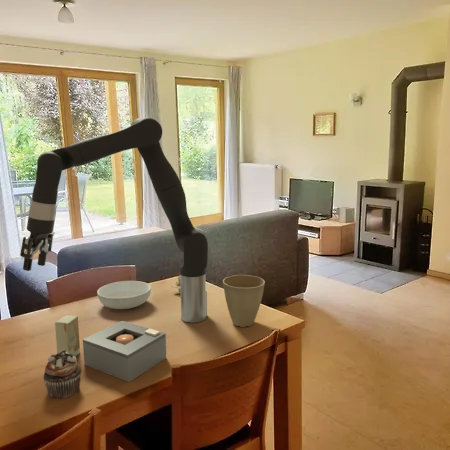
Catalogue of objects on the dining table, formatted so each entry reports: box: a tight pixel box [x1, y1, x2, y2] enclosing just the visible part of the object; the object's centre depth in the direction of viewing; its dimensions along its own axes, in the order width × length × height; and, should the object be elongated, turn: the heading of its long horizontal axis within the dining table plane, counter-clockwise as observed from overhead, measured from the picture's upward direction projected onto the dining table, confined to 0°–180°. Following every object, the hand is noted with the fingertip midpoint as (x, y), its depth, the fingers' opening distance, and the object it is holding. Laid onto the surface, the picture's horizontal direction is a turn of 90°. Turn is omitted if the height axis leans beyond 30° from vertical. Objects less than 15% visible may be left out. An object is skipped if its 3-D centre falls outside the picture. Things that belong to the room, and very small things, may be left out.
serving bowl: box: [96, 280, 152, 310], centre depth 178 cm, size 21×21×7 cm
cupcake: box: [42, 350, 83, 399], centre depth 118 cm, size 10×10×10 cm
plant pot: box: [222, 274, 266, 328], centre depth 160 cm, size 15×15×16 cm
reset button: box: [116, 334, 133, 345], centre depth 133 cm, size 5×5×4 cm
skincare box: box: [54, 314, 81, 358], centre depth 136 cm, size 6×4×12 cm
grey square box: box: [82, 320, 167, 383], centre depth 133 cm, size 16×18×9 cm
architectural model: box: [171, 275, 181, 293], centre depth 191 cm, size 3×7×7 cm, turn 53°
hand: (34, 267), depth 138 cm, fingers open, 8 cm apart
